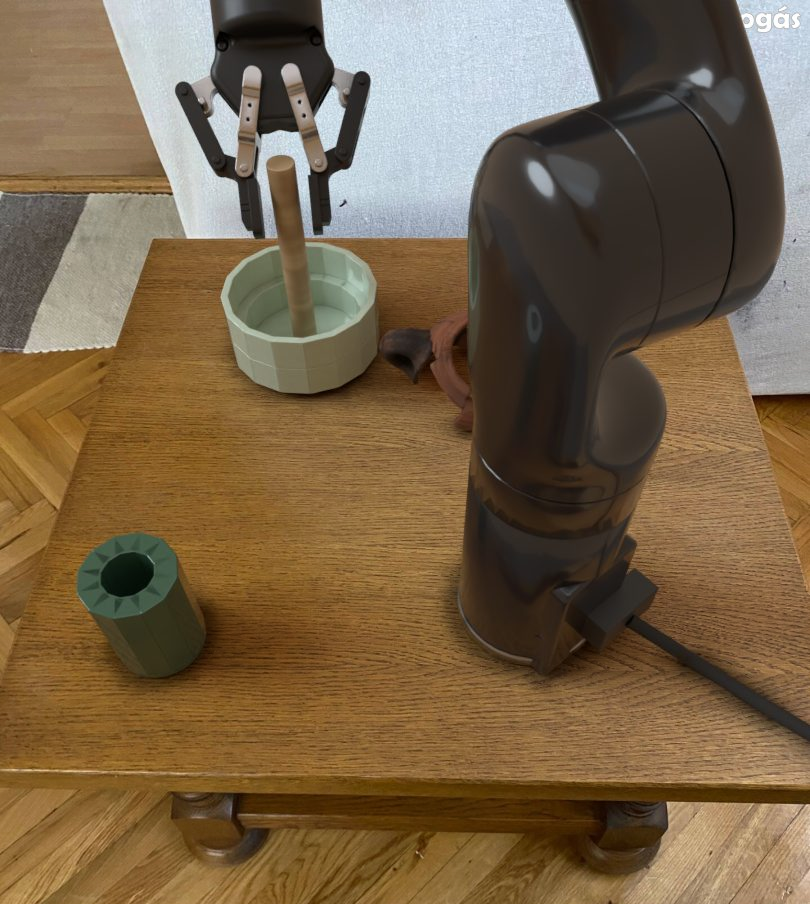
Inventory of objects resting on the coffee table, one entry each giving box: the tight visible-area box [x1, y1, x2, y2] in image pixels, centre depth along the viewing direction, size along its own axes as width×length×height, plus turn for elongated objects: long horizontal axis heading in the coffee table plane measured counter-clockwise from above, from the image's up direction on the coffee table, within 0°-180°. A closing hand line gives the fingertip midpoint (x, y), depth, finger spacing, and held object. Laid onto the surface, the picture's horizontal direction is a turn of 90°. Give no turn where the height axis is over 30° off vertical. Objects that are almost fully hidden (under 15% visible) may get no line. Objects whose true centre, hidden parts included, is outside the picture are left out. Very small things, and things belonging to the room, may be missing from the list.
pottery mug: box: [378, 310, 474, 431], centre depth 65 cm, size 12×10×8 cm
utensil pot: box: [76, 531, 207, 679], centre depth 51 cm, size 6×6×8 cm
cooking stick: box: [265, 154, 317, 338], centre depth 63 cm, size 2×2×16 cm
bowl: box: [220, 241, 380, 395], centre depth 67 cm, size 12×12×6 cm
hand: (289, 234), depth 59 cm, fingers open, 3 cm apart
